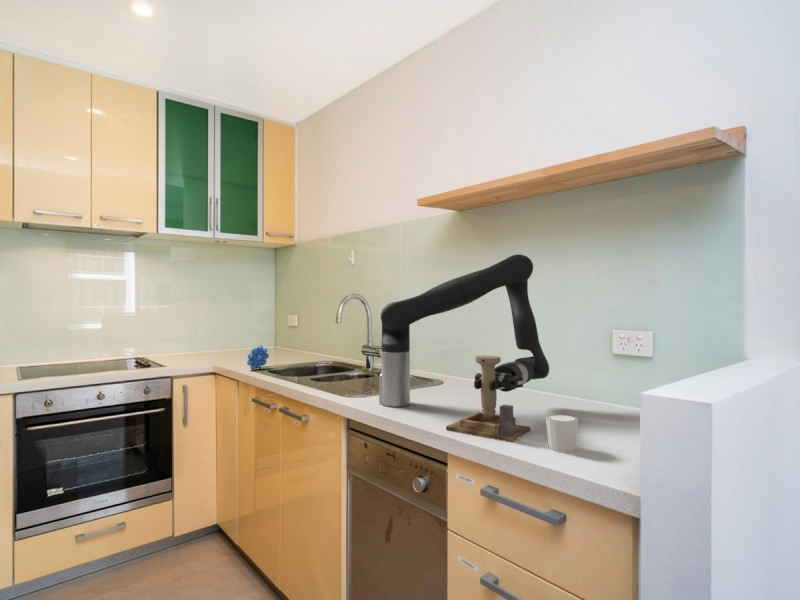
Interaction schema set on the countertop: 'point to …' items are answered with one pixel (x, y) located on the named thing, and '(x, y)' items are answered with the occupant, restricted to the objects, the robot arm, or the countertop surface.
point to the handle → (488, 383)
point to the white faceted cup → (562, 432)
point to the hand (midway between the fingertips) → (483, 385)
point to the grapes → (257, 357)
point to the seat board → (491, 425)
